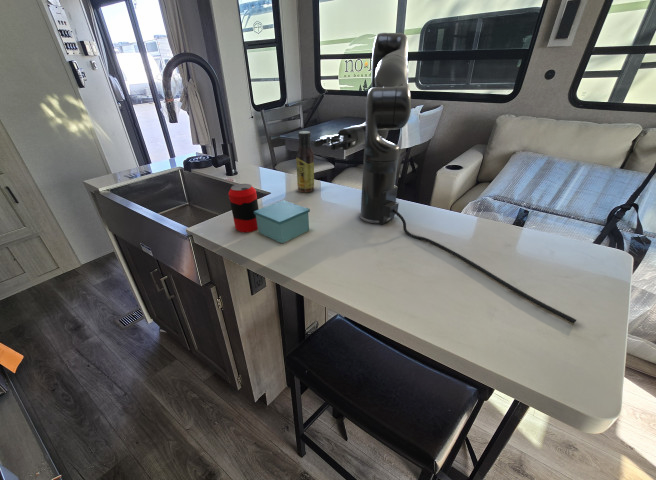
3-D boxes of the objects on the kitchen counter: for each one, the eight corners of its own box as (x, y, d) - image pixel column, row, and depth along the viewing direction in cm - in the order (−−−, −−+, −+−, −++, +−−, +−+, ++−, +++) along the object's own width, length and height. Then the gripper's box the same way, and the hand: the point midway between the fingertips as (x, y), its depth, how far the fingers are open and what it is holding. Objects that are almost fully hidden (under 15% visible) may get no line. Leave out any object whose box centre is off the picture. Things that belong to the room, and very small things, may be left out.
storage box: (310, 230, 89) (309, 209, 85) (281, 244, 83) (279, 222, 79) (285, 220, 95) (283, 199, 92) (256, 232, 89) (253, 211, 86)
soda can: (242, 235, 88) (234, 193, 81) (231, 226, 93) (223, 186, 86) (265, 227, 92) (260, 187, 84) (253, 219, 97) (247, 180, 89)
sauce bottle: (295, 189, 118) (291, 131, 106) (310, 186, 120) (307, 129, 108) (302, 194, 113) (298, 134, 101) (317, 191, 115) (316, 132, 103)
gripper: (337, 125, 124) (309, 132, 115) (366, 128, 116) (338, 136, 107) (337, 145, 128) (309, 153, 120) (365, 150, 120) (338, 159, 111)
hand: (323, 145), depth 113 cm, fingers open, 8 cm apart
